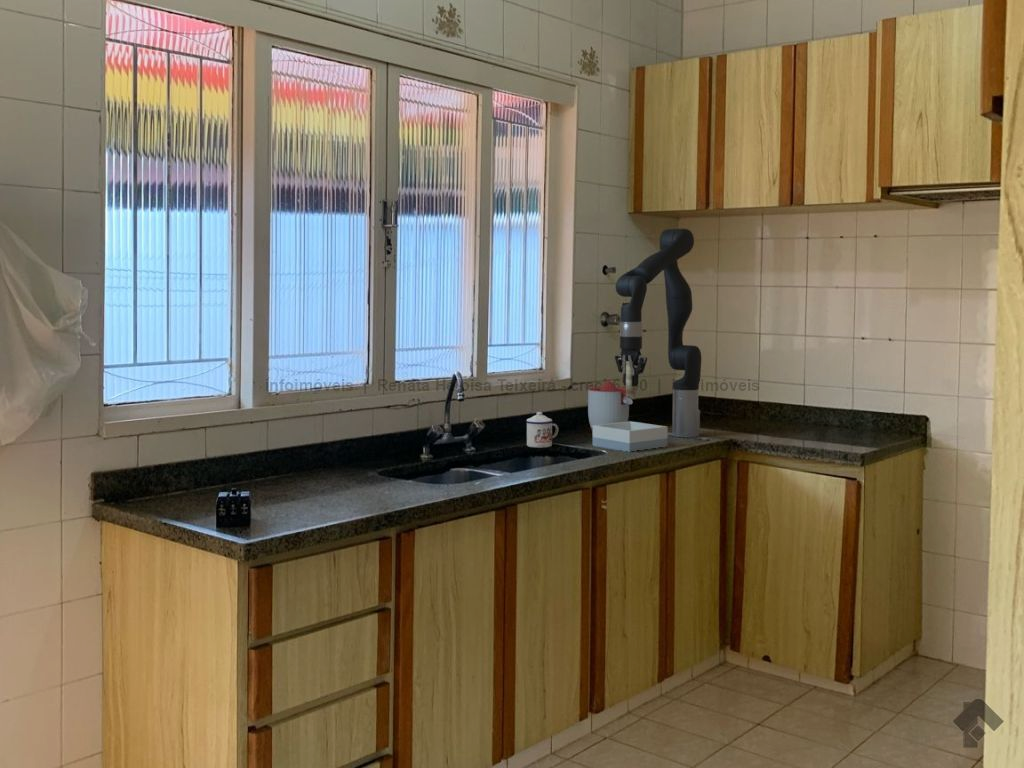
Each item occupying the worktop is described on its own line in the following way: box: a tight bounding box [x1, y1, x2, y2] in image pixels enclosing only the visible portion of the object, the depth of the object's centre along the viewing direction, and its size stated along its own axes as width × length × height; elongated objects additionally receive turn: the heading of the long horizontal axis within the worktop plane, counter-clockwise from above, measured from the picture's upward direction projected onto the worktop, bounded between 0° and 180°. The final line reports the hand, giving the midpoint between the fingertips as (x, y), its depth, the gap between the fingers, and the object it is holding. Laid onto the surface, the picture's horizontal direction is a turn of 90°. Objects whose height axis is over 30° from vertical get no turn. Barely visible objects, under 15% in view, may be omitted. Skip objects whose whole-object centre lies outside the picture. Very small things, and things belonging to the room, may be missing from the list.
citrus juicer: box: [587, 380, 634, 433], centre depth 384 cm, size 16×17×20 cm
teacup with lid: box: [525, 411, 559, 449], centre depth 357 cm, size 12×9×12 cm
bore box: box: [592, 420, 669, 453], centre depth 355 cm, size 18×18×7 cm
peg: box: [625, 361, 636, 398], centre depth 353 cm, size 3×3×12 cm
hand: (630, 385), depth 353 cm, fingers closed on peg, 3 cm apart
